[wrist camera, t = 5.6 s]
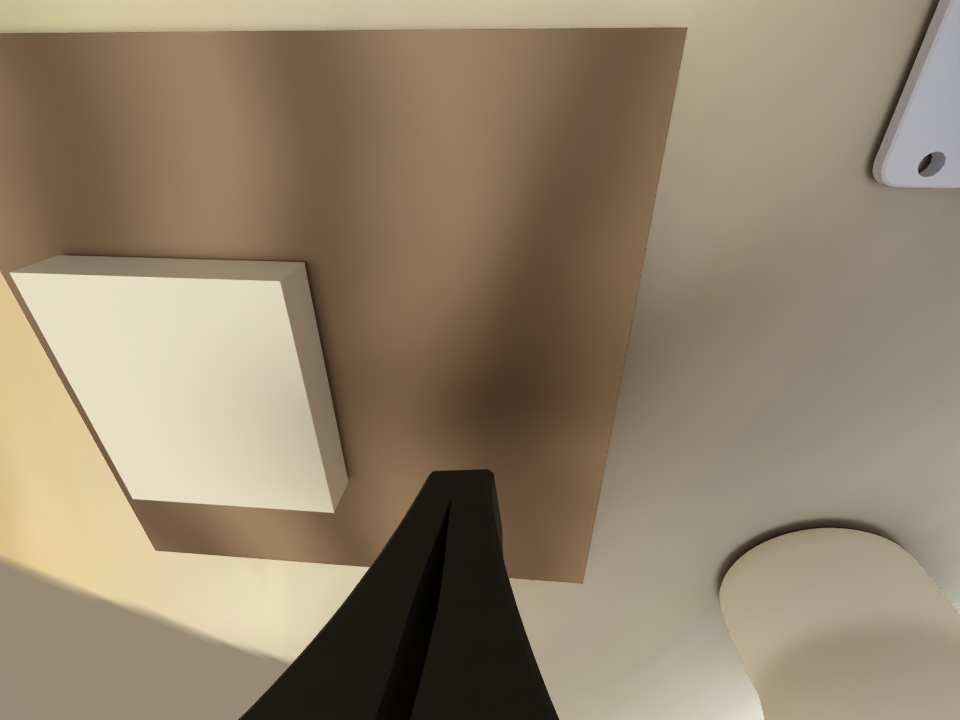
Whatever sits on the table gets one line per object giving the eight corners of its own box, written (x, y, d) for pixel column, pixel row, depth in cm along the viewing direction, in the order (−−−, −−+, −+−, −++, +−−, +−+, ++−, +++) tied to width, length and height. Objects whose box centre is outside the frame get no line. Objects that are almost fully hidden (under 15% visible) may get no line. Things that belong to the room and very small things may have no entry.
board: (673, 33, 10) (687, 27, 9) (580, 561, 19) (582, 583, 18) (-81, 39, 11) (-131, 34, 10) (171, 531, 20) (155, 550, 20)
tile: (280, 281, 11) (9, 272, 11) (334, 512, 15) (132, 499, 15) (306, 260, 12) (63, 253, 13) (349, 478, 16) (163, 466, 17)
